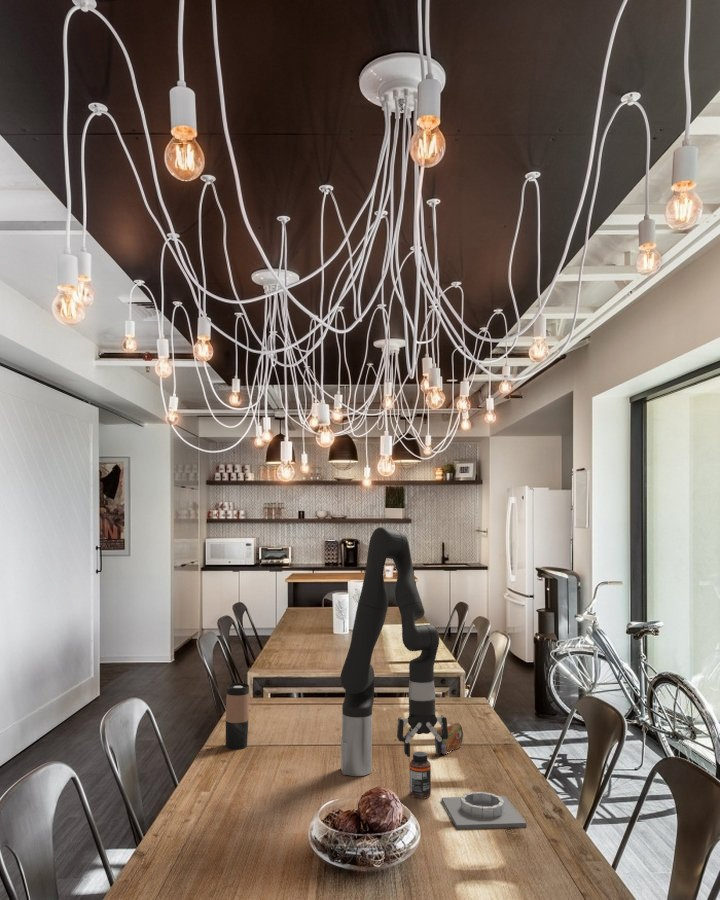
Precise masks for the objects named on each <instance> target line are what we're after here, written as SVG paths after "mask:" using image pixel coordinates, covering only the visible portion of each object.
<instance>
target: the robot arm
mask: <svg viewBox="0 0 720 900" xmlns="http://www.w3.org/2000/svg"><path fill="white" fill-rule="evenodd" d="M367 549H368V550H367V558H366V563H365V564H366V565H365V569H364V576H363V577H364V578H363V581H362V582H363V583H362V586H361V591H360V594H359V598H358V604H357V608H356V611H355V618H354V621H353V627H352V631H351V632H352V633H351V639H350V644H349V648H348V651H347V654H346V658H345V661H344V662H343V663H344V664H343V667H342V668H341V671H340V684H341V686H342V688H343V689H344V691H345V692H344V693H345V694H344V699H343V702H342V708H341V709H342V711H341V712H342V713H341V714H342V716H341V717H342V718H341V737H340V739H341V740H340V769H341V775H343V776H345V775H346V776H351V777H362V776H368V775H369V774H371V773H372V766H373V765H372V764H373V763H372V757H373V756H372V751H373V749H372V746H373V738H372V737H373V705H374V701H375V669H374V667H373V666H372V664H371V662H372V656H373V653H374V649H375V646H376V644H377V642H378V639H379V637H380V635H381V633H382V630H383V628H384V624H385V622H386V617H387V612H388V609H389V596H388V591H387V588H386V583H385V579H384V571H385V570H384V569H385V564H386V560H387V559H391V560H392V561H393V563H394V565H395V568H396V572H397V573H396V577H397V578H396V583H395V588H394V589H395V590H394V595H395V596H394V597H395V601H396V603H397V608H398V611H399V613H400V618H401V638H402V643H403V645H404V647H405V648H406V649H407V650H408V651H410V652H420V651H421V652H420V655H419V656H417V657H415V658H413V659H411V660H410V661H409V663H408V664H409V665H408V670H409V673H408V674H409V675H408V676H409V679H408V681H409V683H408V717H407V718H402V717H400V716H399V717H398V719H397V731H396V738H397V739H398V742H402V743H403V752H404V755H405V756H406V757H407V758H408V757H409V758H410V757H411V744H410V741H411V740H412V739H413V738H414V737H415V735H416V734H417V735H422V734H423V735H424V734H426V735H428V734H430V733H431V734H432V735H433V736H434V738H435V737H436V740H435V739H434V746H435V747H434V748H435V755H436V756H440V754H441V752H442V740H444V739H447V738H448V730H447V724H448V721H447V719H448V718H447V717H446V716H445V715H443V714H442V715H441V716H436V687H435V678H434V677H435V676H434V675H435V672H434V671H435V670H434V668H435V667H434V666H435V661H436V658H437V652H438V649H439V645H440V634H439V631H438V629H437V628H436V626H434V625H433V624H422V625H421V624H420V625H416V624H415V622H417V621H419V620H420V619H422V618H423V617H424V615H425V609H424V605H423V603H422V599H421V596H420V593H419V590H418V587H417V584H416V578H415V575H414V574H415V573H414V568H413V567H414V566H413V561H412V555H411V554H412V553H411V548H410V543H409V540H408V537H407V535H406V534H405V533H404V532H403V531H402V530H400V529H395V528H394V529H393V528H387V527H382V526H381V527H377V528H376V529H374V531H373V532H372V534H371V537H370V540H369V543H368V548H367ZM437 723H438V724H439V725H440V728H441V730H442V734H440V735H439V734H438V733H437V730H436V729H435V726H436V725H437ZM407 724H408V725H409V726H410V727H409V728H408V730H407V731H406V734H405V735H404V727H406V725H407Z"/></svg>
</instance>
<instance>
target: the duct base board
mask: <svg viewBox="0 0 720 900" xmlns="http://www.w3.org/2000/svg"><path fill="white" fill-rule="evenodd" d="M498 796H499V797H501V798H502V799H503V801H504V812H503V814H502V815H501V816H498V817H495V818H478V817H472V816H470V815H467V814H465V813H463V811H462V810H461V797H462V796H450V797H441V800H440V801H441V803H442V804H443V807H444V808H445V810H446V812H447V814H448V815H449V817H450V819H451V821H452V823H453V824H454V826H455V828H456V830H470V829H471V830H473V829H475V830H477V829H504V828H527V826H528V825H527V824H528V823H527V822H526V820H525V819H524V818H523V817H522V815H521V814H520V812H519V811H518V810H517V809H516V807H514V805H513V804H512V802H510V800H509V798H507V796H506V795H498ZM472 805H476V806H481V807H490V806H493V805H491V804H486V803H472Z"/></svg>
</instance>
